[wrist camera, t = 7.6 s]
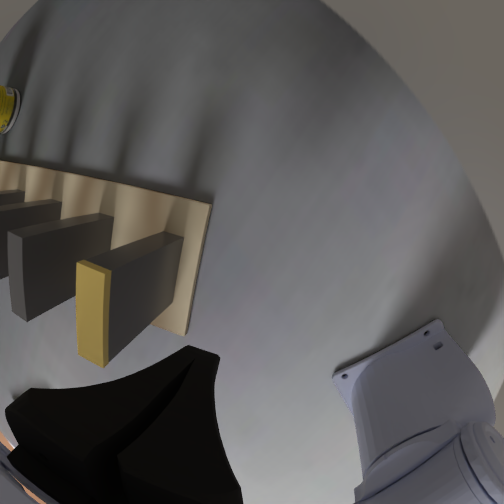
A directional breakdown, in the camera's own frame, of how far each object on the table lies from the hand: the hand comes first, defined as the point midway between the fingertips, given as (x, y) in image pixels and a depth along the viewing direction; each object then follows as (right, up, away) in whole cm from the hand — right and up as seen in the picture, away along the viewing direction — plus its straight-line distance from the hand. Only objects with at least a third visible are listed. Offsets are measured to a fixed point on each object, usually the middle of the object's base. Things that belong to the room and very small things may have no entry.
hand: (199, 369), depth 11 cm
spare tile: (-4, +3, +9) cm, 11 cm away
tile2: (-10, +5, +10) cm, 15 cm away
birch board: (-18, +8, +12) cm, 23 cm away
